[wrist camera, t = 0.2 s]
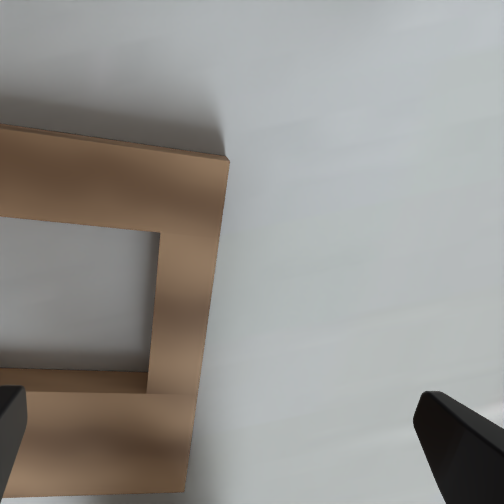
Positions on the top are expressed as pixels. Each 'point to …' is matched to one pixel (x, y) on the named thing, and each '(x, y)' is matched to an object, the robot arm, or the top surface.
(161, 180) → the wooden frame
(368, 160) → the top surface
